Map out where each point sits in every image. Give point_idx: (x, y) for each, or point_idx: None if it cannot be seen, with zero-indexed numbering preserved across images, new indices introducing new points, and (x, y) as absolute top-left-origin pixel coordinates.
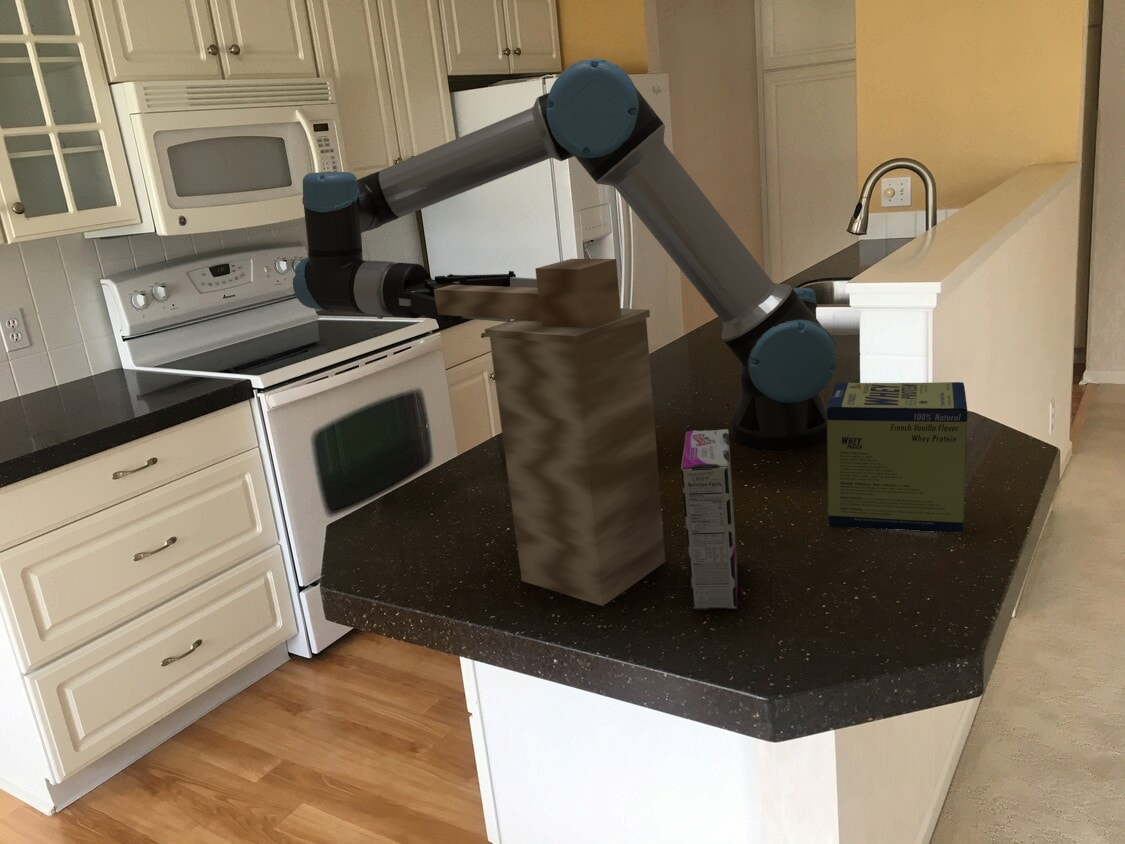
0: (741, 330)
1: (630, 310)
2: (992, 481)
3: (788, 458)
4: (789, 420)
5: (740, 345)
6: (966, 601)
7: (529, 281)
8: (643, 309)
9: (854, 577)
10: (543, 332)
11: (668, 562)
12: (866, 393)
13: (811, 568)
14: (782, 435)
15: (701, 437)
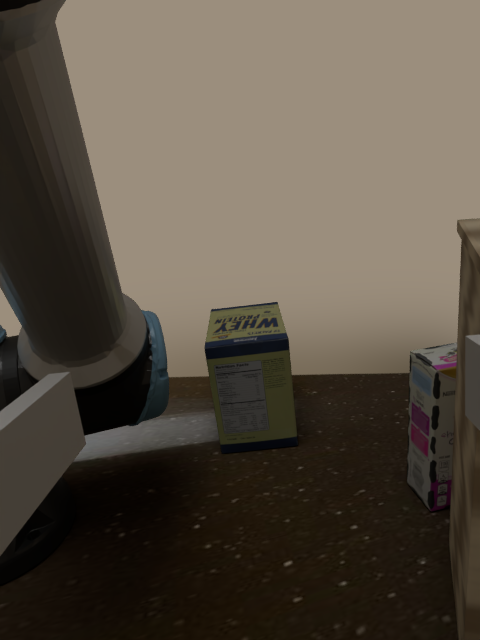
0: (139, 343)
1: (473, 223)
2: (186, 390)
3: (107, 507)
4: (60, 481)
5: (136, 368)
6: (385, 380)
7: (15, 431)
8: (460, 221)
9: (384, 420)
10: None
11: (447, 539)
12: (245, 329)
13: (385, 440)
14: (69, 501)
15: (451, 356)
